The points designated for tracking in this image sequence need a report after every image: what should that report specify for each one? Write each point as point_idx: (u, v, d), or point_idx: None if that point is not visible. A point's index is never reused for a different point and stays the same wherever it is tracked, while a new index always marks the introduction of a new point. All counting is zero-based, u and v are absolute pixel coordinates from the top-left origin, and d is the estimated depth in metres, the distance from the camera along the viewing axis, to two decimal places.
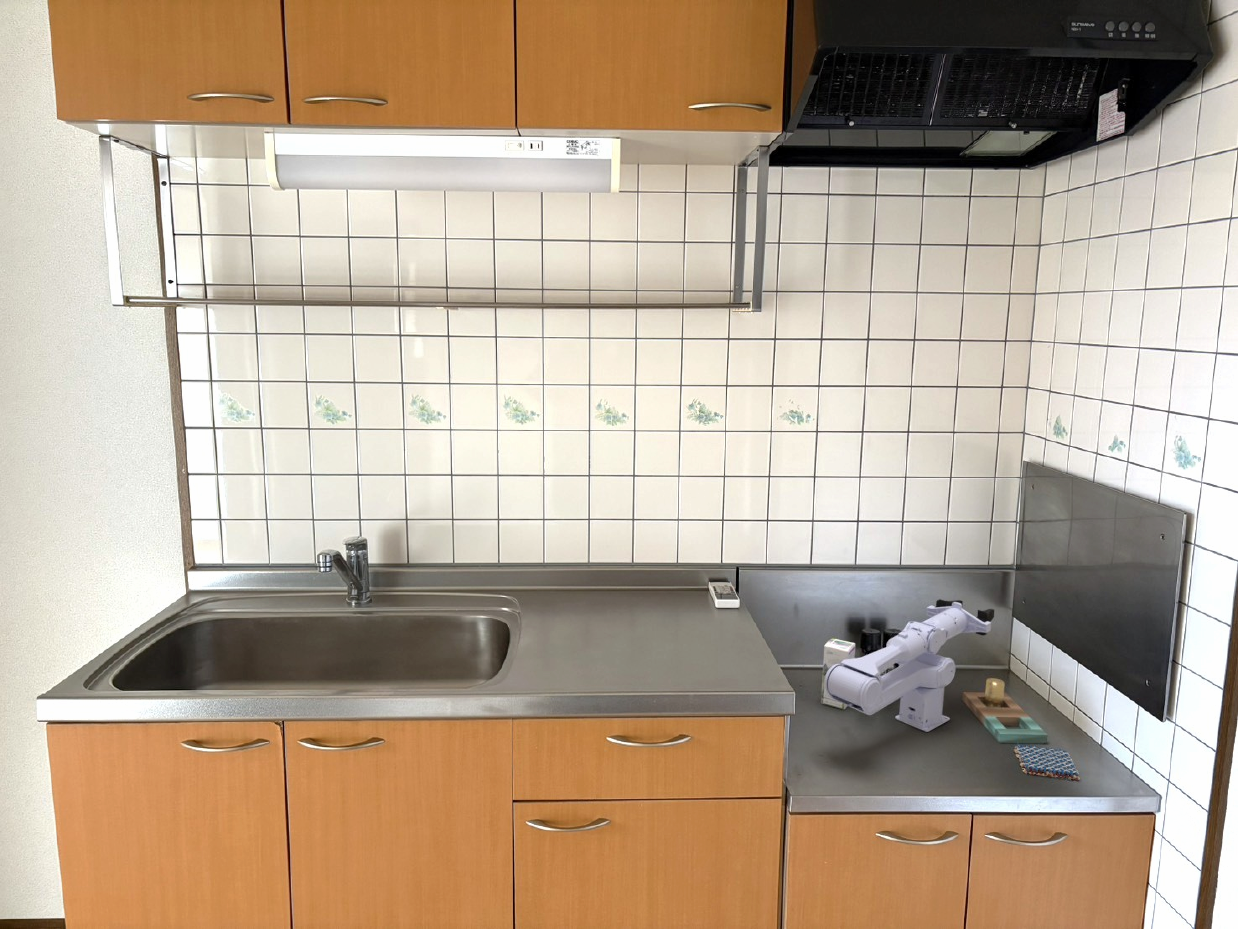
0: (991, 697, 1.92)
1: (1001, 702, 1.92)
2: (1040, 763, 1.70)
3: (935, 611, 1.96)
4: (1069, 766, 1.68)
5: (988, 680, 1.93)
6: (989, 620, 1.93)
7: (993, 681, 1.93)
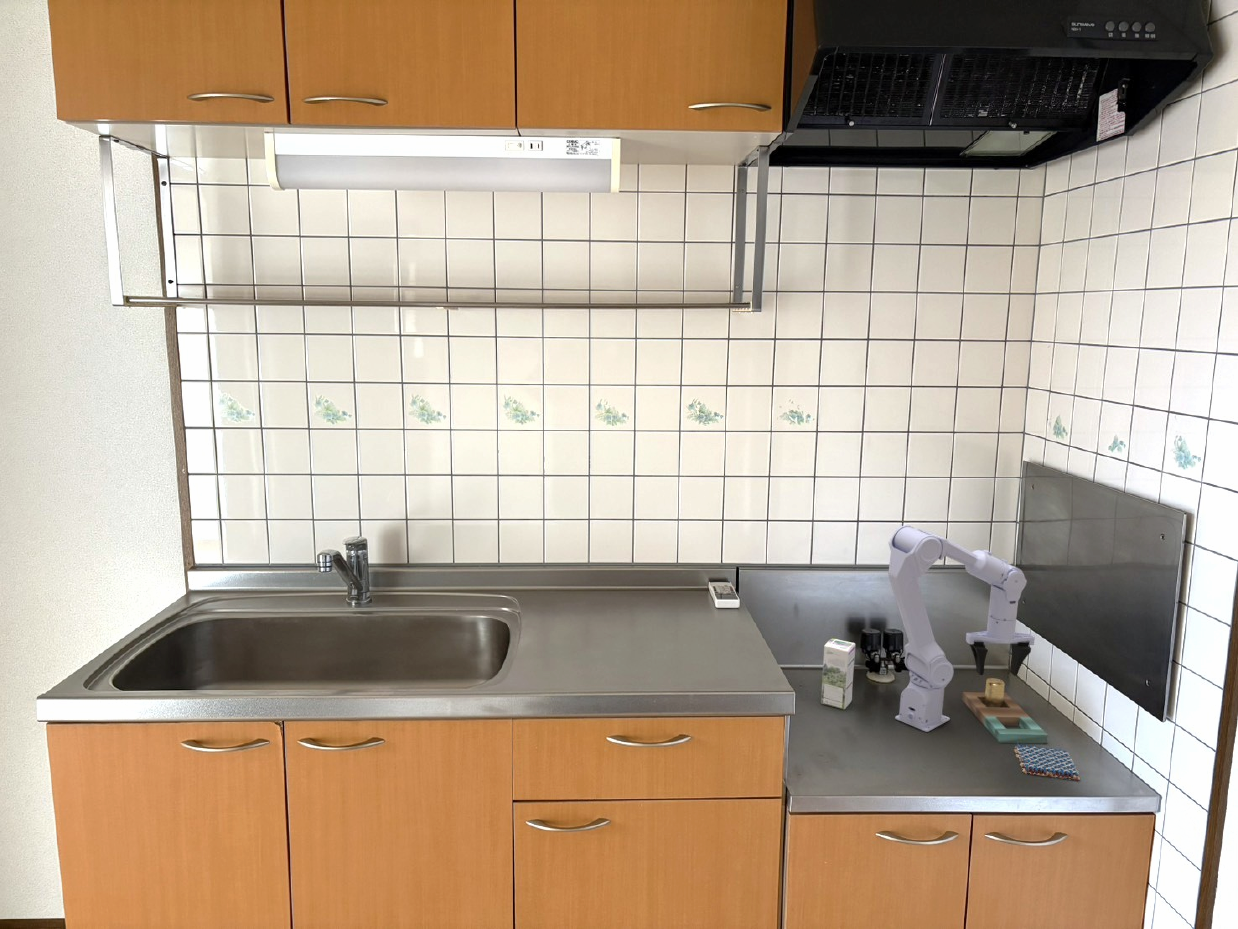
0: (991, 697, 1.92)
1: (1001, 702, 1.92)
2: (1040, 763, 1.70)
3: None
4: (1069, 766, 1.68)
5: (988, 680, 1.93)
6: None
7: (993, 681, 1.93)
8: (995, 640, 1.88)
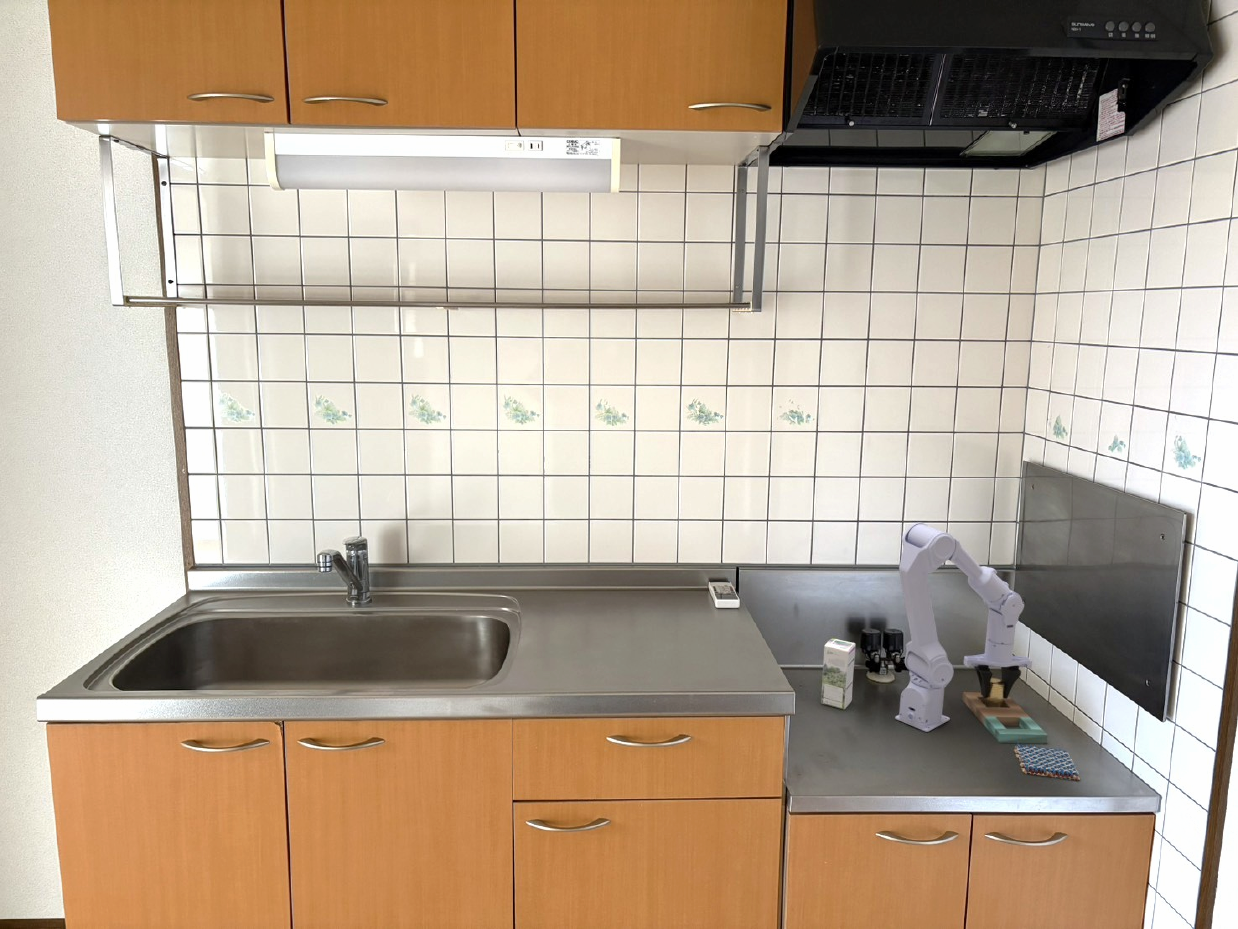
0: (991, 697, 1.92)
1: (1001, 702, 1.92)
2: (1040, 763, 1.70)
3: None
4: (1069, 766, 1.68)
5: None
6: None
7: (993, 681, 1.93)
8: (993, 663, 1.89)
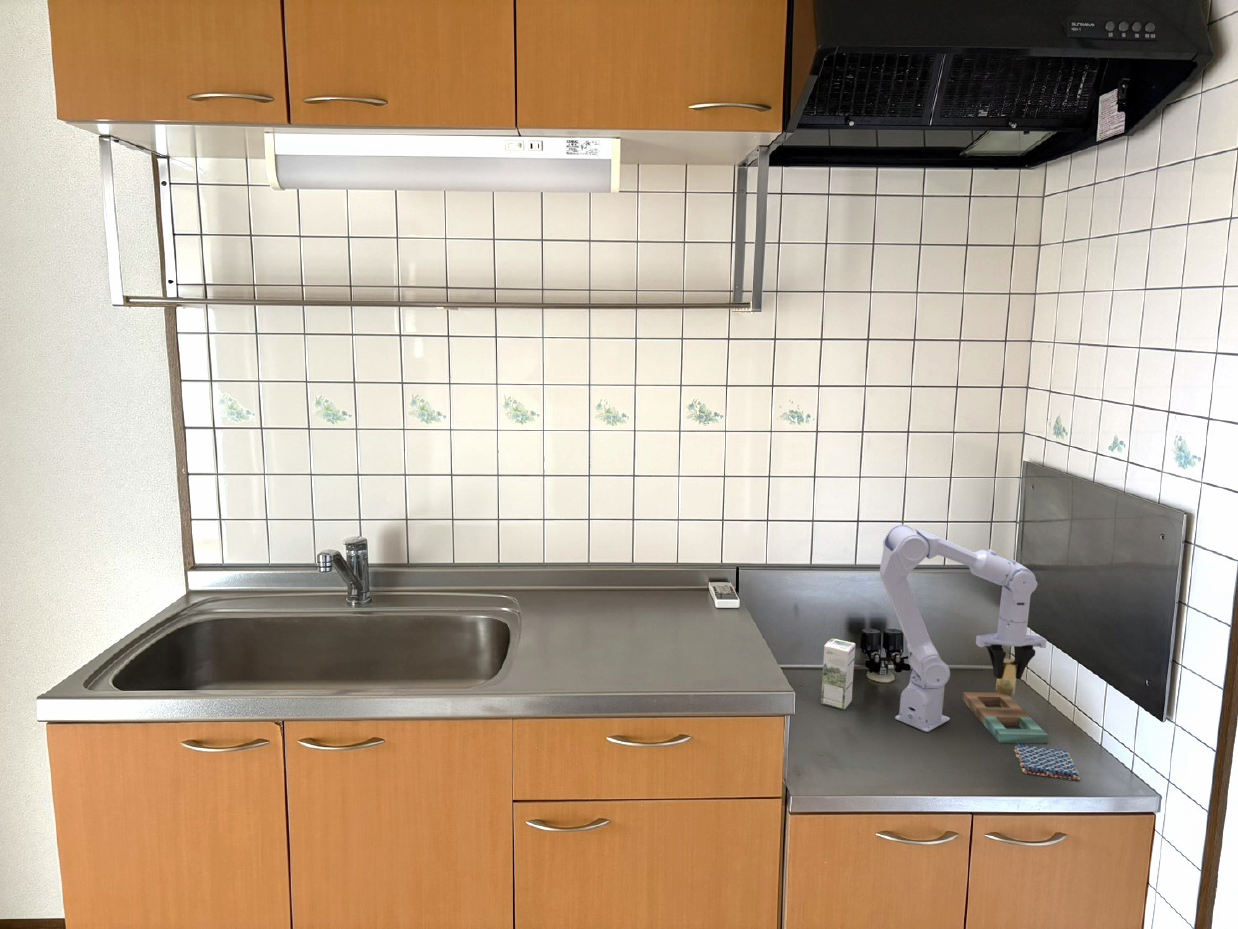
0: (1004, 677, 1.86)
1: (1014, 683, 1.86)
2: (1040, 763, 1.70)
3: None
4: (1069, 766, 1.68)
5: None
6: None
7: (1006, 661, 1.86)
8: (1006, 643, 1.83)
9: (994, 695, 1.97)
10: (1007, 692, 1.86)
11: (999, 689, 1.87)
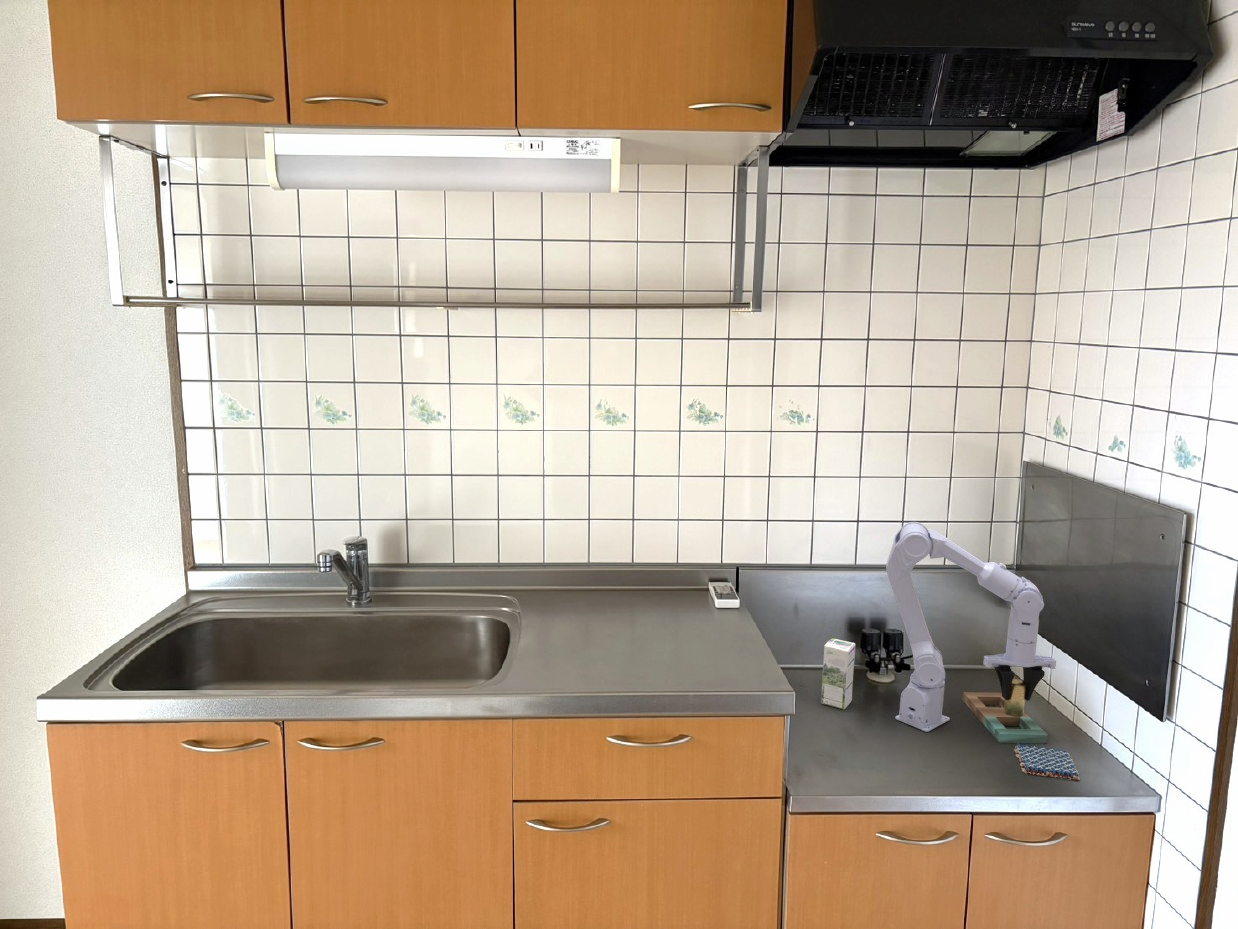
0: (1012, 699, 1.81)
1: (1022, 704, 1.82)
2: (1040, 763, 1.70)
3: None
4: (1069, 766, 1.68)
5: None
6: None
7: (1014, 682, 1.82)
8: (1014, 664, 1.79)
9: (994, 695, 1.97)
10: (1015, 714, 1.82)
11: (1007, 710, 1.83)
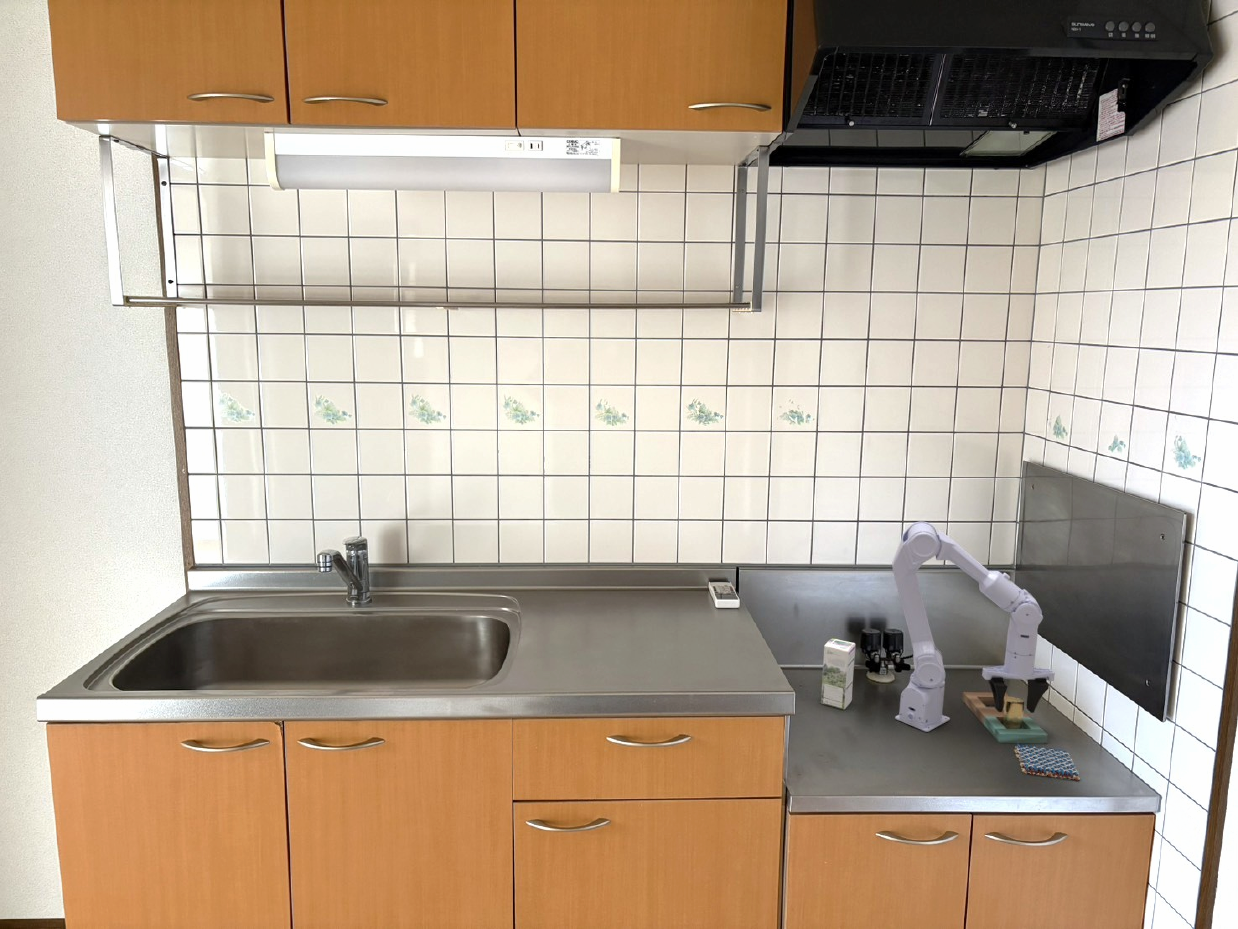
0: (1010, 717, 1.82)
1: (1020, 722, 1.82)
2: (1040, 763, 1.70)
3: None
4: (1069, 766, 1.68)
5: (1007, 699, 1.84)
6: None
7: (1012, 700, 1.83)
8: (1013, 676, 1.79)
9: None
10: None
11: None
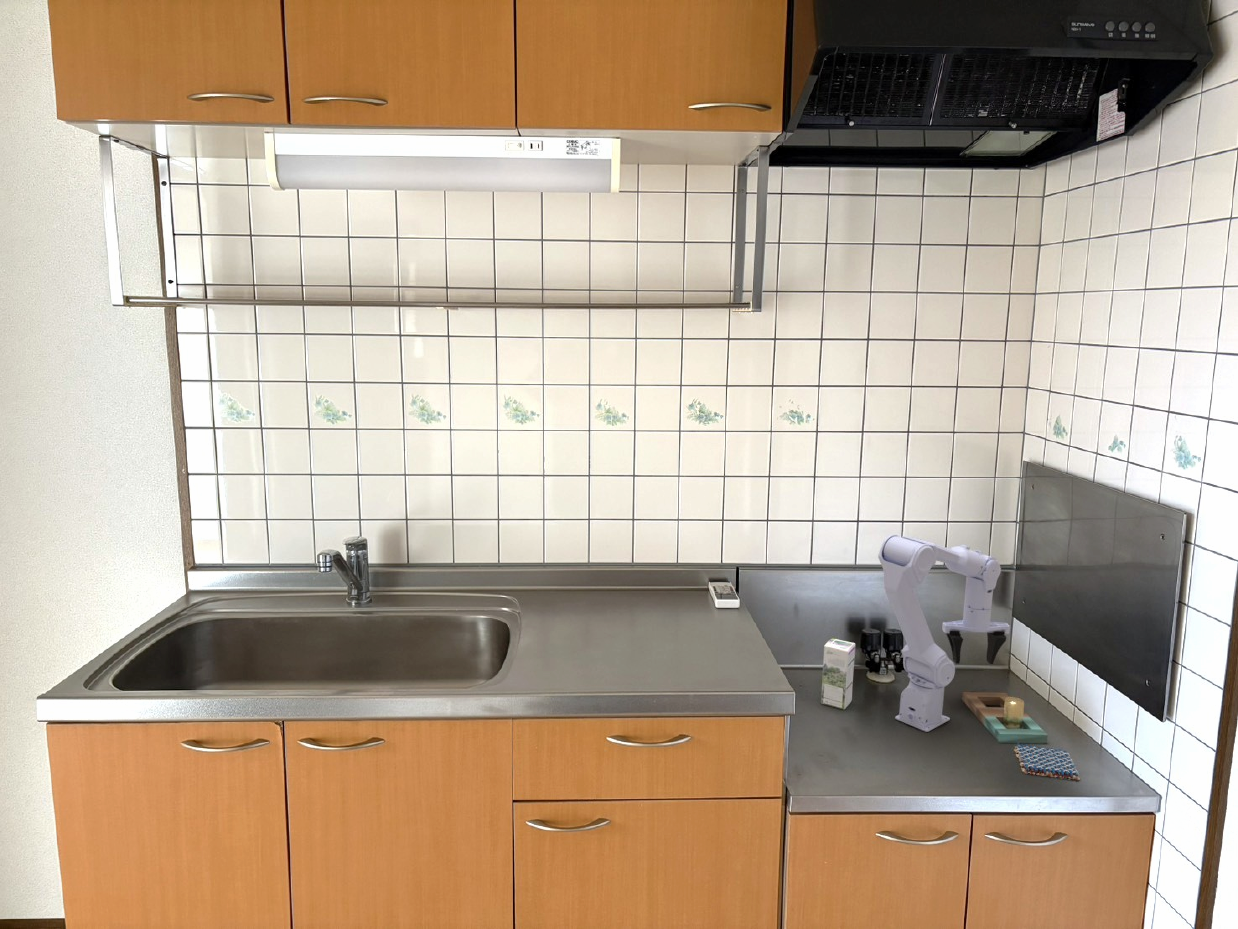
0: (1010, 717, 1.82)
1: (1020, 722, 1.82)
2: (1040, 763, 1.70)
3: None
4: (1069, 766, 1.68)
5: (1007, 699, 1.84)
6: None
7: (1012, 700, 1.83)
8: (970, 629, 1.91)
9: (994, 695, 1.97)
10: None
11: None
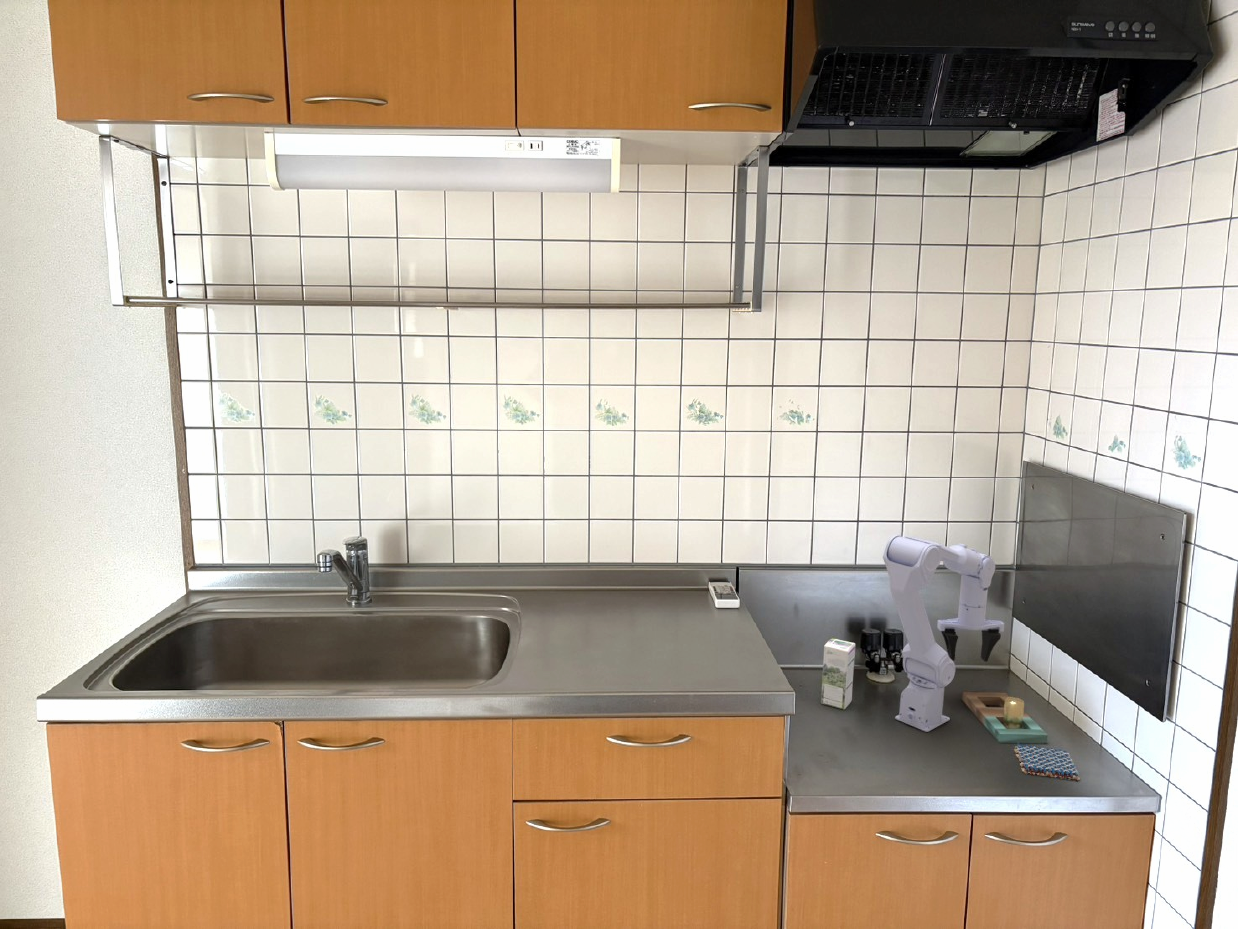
0: (1010, 717, 1.82)
1: (1020, 722, 1.82)
2: (1040, 763, 1.70)
3: None
4: (1069, 766, 1.68)
5: (1007, 699, 1.84)
6: None
7: (1012, 700, 1.83)
8: (965, 627, 1.92)
9: (994, 695, 1.97)
10: None
11: None
